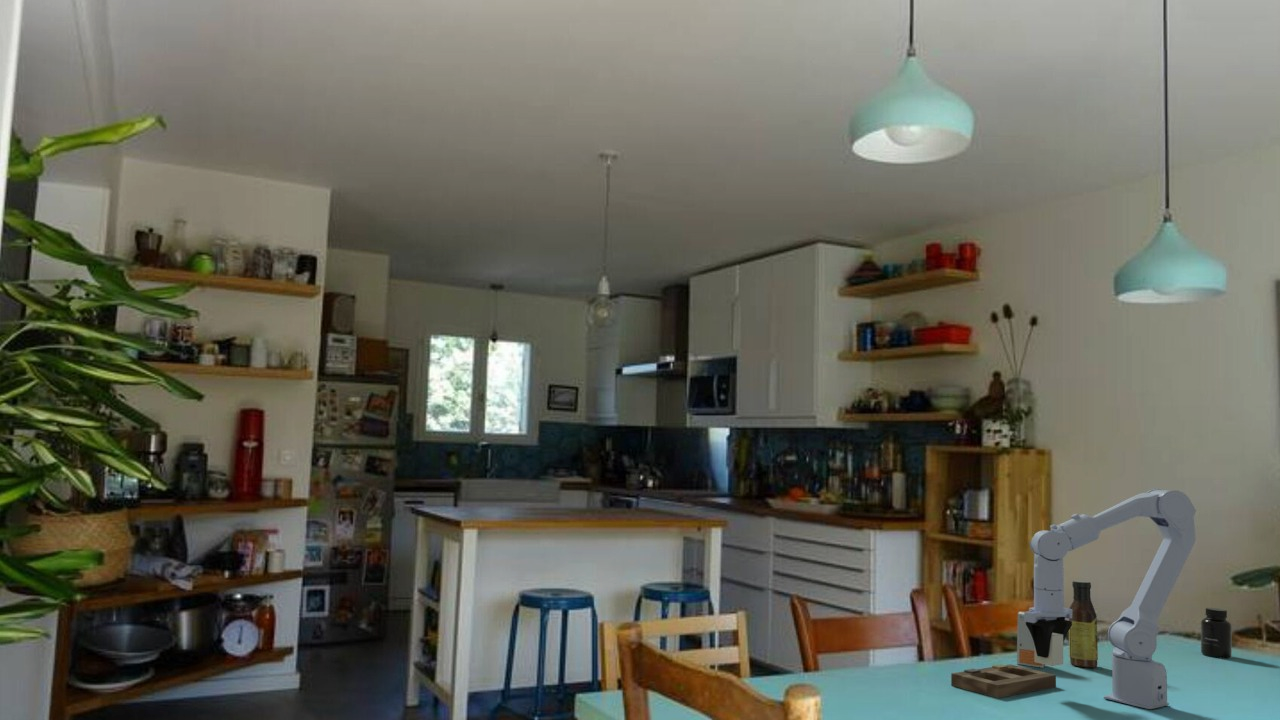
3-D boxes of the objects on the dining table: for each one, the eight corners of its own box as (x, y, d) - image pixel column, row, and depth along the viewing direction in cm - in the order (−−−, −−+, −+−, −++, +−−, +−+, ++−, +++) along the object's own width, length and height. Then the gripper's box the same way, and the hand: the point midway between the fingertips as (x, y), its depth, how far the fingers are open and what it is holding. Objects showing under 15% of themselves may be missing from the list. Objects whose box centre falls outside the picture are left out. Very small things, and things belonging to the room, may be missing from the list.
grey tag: (980, 672, 199) (980, 670, 199) (971, 673, 197) (971, 671, 197) (973, 670, 201) (973, 668, 201) (964, 672, 199) (964, 670, 199)
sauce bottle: (1102, 669, 220) (1102, 583, 222) (1076, 668, 220) (1075, 582, 222) (1090, 663, 226) (1089, 580, 228) (1064, 662, 226) (1063, 579, 228)
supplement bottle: (1205, 657, 241) (1204, 609, 242) (1198, 652, 247) (1197, 606, 248) (1235, 659, 239) (1234, 612, 240) (1227, 654, 245) (1226, 608, 246)
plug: (1063, 664, 192) (1063, 634, 193) (1052, 666, 190) (1052, 636, 190) (1045, 660, 195) (1045, 631, 196) (1034, 662, 193) (1034, 632, 194)
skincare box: (1016, 664, 221) (1016, 613, 222) (1018, 661, 224) (1018, 611, 226) (1044, 668, 218) (1044, 616, 219) (1045, 665, 222) (1045, 614, 223)
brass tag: (1008, 667, 205) (1008, 666, 205) (999, 669, 203) (999, 667, 203) (1000, 666, 206) (1000, 664, 206) (992, 667, 205) (992, 665, 205)
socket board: (1055, 686, 200) (1055, 674, 200) (997, 698, 188) (997, 685, 188) (1009, 675, 209) (1009, 664, 209) (951, 685, 197) (951, 673, 197)
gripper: (1050, 584, 202) (1050, 648, 200) (1010, 587, 193) (1010, 654, 192) (1081, 589, 196) (1082, 655, 194) (1042, 592, 188) (1042, 662, 186)
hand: (1048, 655), depth 193 cm, fingers closed on plug, 4 cm apart
